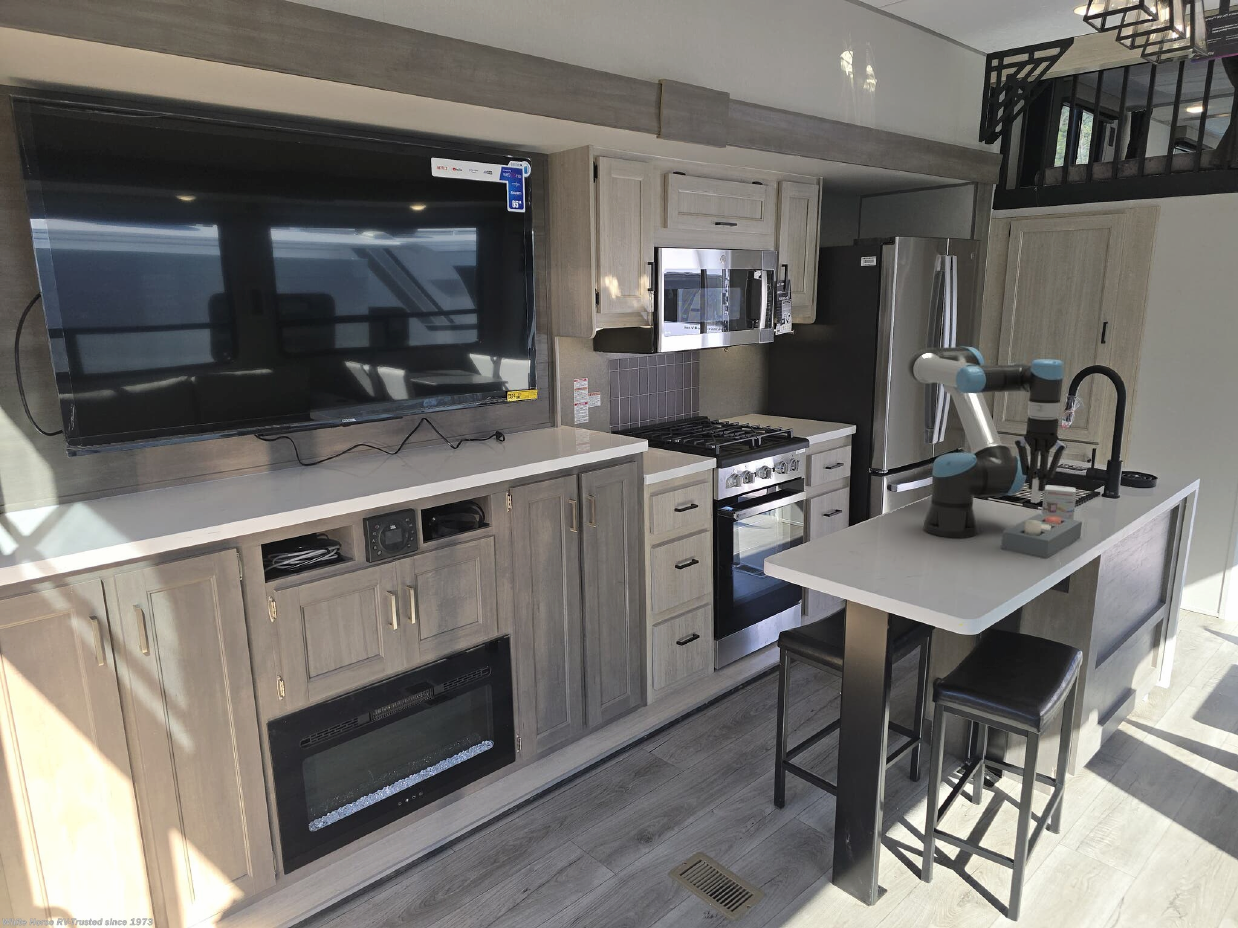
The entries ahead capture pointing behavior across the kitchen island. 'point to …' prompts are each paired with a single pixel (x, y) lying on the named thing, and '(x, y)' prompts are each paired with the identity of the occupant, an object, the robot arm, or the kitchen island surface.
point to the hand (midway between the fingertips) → (1035, 501)
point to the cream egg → (1045, 526)
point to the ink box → (1059, 501)
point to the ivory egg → (1033, 527)
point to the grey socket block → (1041, 537)
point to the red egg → (1053, 519)
